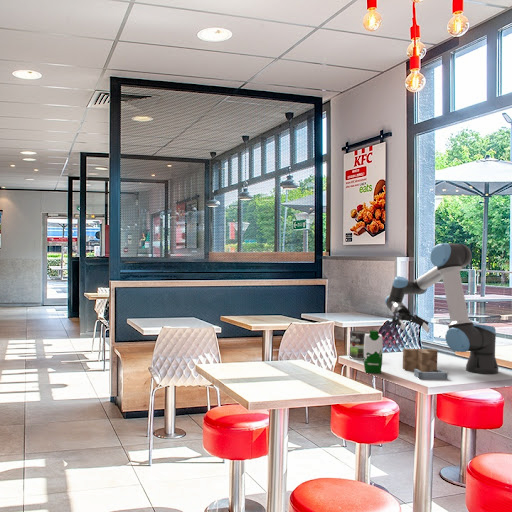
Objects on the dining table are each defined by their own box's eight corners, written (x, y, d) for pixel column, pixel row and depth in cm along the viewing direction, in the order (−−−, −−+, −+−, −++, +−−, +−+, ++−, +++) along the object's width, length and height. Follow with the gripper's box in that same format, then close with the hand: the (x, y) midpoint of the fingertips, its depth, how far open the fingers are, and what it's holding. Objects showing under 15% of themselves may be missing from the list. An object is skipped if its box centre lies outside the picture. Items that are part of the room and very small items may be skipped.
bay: (441, 375, 291) (441, 369, 291) (447, 379, 282) (447, 373, 282) (414, 375, 291) (414, 368, 291) (419, 379, 282) (419, 372, 282)
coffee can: (360, 360, 327) (361, 333, 327) (345, 357, 335) (346, 331, 335) (372, 358, 334) (373, 332, 334) (357, 355, 342) (357, 330, 342)
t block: (434, 369, 307) (435, 349, 307) (442, 374, 295) (442, 353, 295) (402, 368, 307) (403, 348, 307) (408, 373, 295) (409, 352, 295)
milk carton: (364, 373, 293) (365, 331, 292) (362, 369, 302) (363, 328, 301) (382, 374, 292) (383, 332, 291) (380, 370, 301) (381, 329, 300)
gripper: (419, 320, 336) (436, 338, 316) (377, 315, 331) (391, 333, 311) (423, 307, 334) (440, 325, 314) (381, 302, 329) (395, 319, 309)
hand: (416, 329), depth 313 cm, fingers open, 13 cm apart
